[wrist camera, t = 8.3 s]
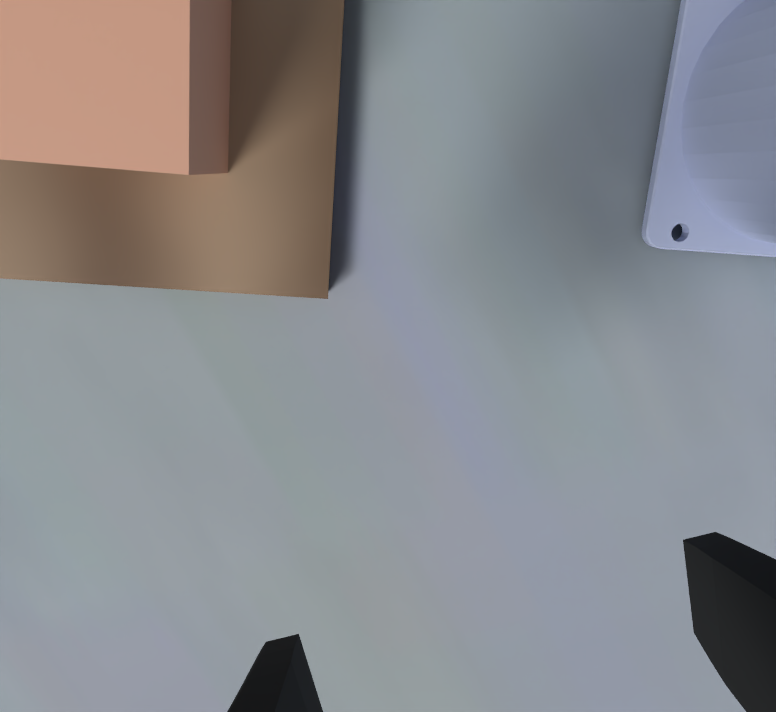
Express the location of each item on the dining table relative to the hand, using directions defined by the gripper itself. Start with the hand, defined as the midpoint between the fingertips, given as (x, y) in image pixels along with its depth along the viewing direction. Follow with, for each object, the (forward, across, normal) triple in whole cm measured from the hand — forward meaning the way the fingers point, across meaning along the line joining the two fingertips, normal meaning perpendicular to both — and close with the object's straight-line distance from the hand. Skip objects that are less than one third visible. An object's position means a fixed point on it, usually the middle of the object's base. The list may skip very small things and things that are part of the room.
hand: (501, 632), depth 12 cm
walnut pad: (+9, +5, -11) cm, 16 cm away
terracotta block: (+8, +5, -12) cm, 15 cm away
